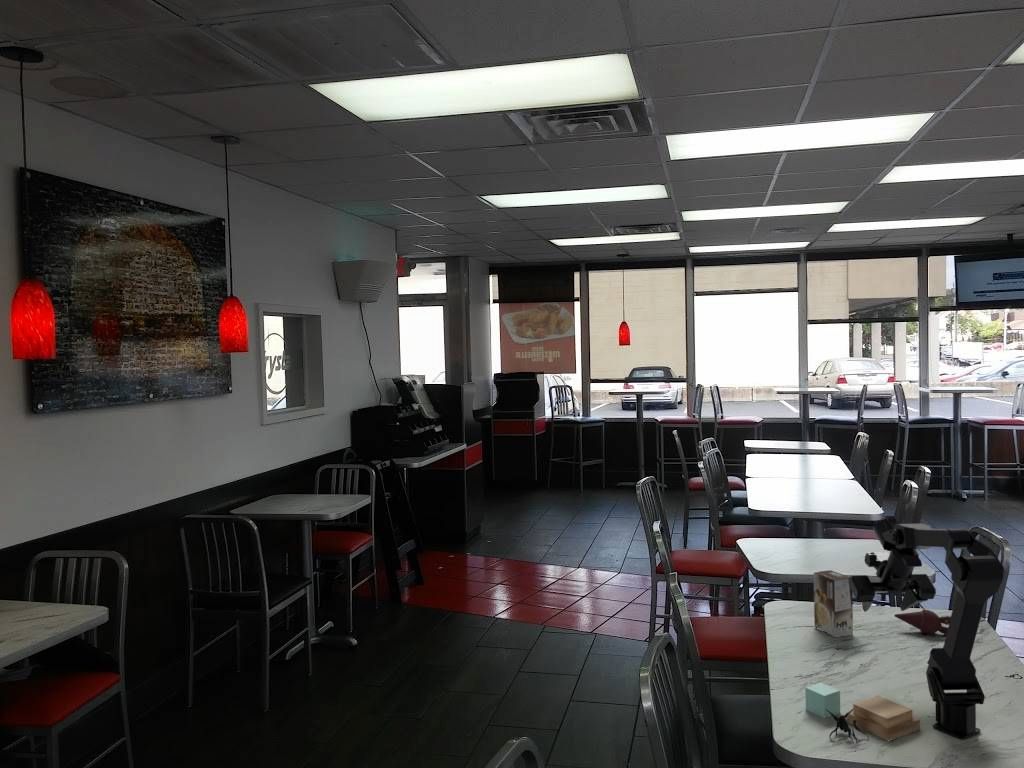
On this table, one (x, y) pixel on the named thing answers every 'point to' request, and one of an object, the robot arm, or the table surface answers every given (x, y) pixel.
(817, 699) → the teal block
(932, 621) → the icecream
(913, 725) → the plinth
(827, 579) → the coffee box
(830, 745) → the table surface
